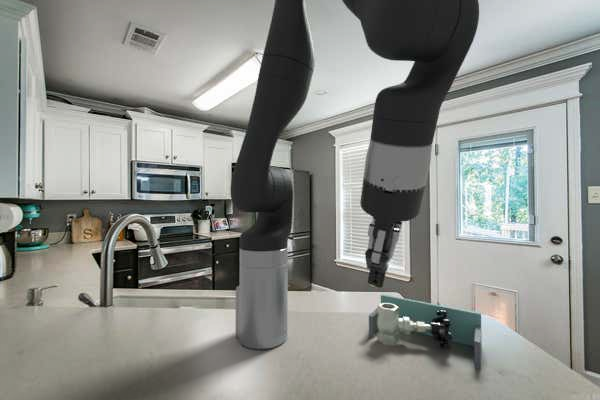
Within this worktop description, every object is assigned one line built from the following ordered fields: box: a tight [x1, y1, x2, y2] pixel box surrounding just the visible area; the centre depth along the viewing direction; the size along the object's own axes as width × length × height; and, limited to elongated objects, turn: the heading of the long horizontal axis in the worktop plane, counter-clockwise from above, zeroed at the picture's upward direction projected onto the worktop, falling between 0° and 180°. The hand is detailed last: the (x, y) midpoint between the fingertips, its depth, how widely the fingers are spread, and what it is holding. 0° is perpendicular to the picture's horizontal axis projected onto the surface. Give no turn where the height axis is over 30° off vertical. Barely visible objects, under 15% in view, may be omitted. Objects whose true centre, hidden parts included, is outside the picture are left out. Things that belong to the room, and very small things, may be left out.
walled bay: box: [368, 293, 483, 369], centre depth 50 cm, size 18×8×6 cm, turn 55°
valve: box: [377, 302, 452, 350], centre depth 50 cm, size 7×7×12 cm
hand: (375, 283), depth 41 cm, fingers closed
